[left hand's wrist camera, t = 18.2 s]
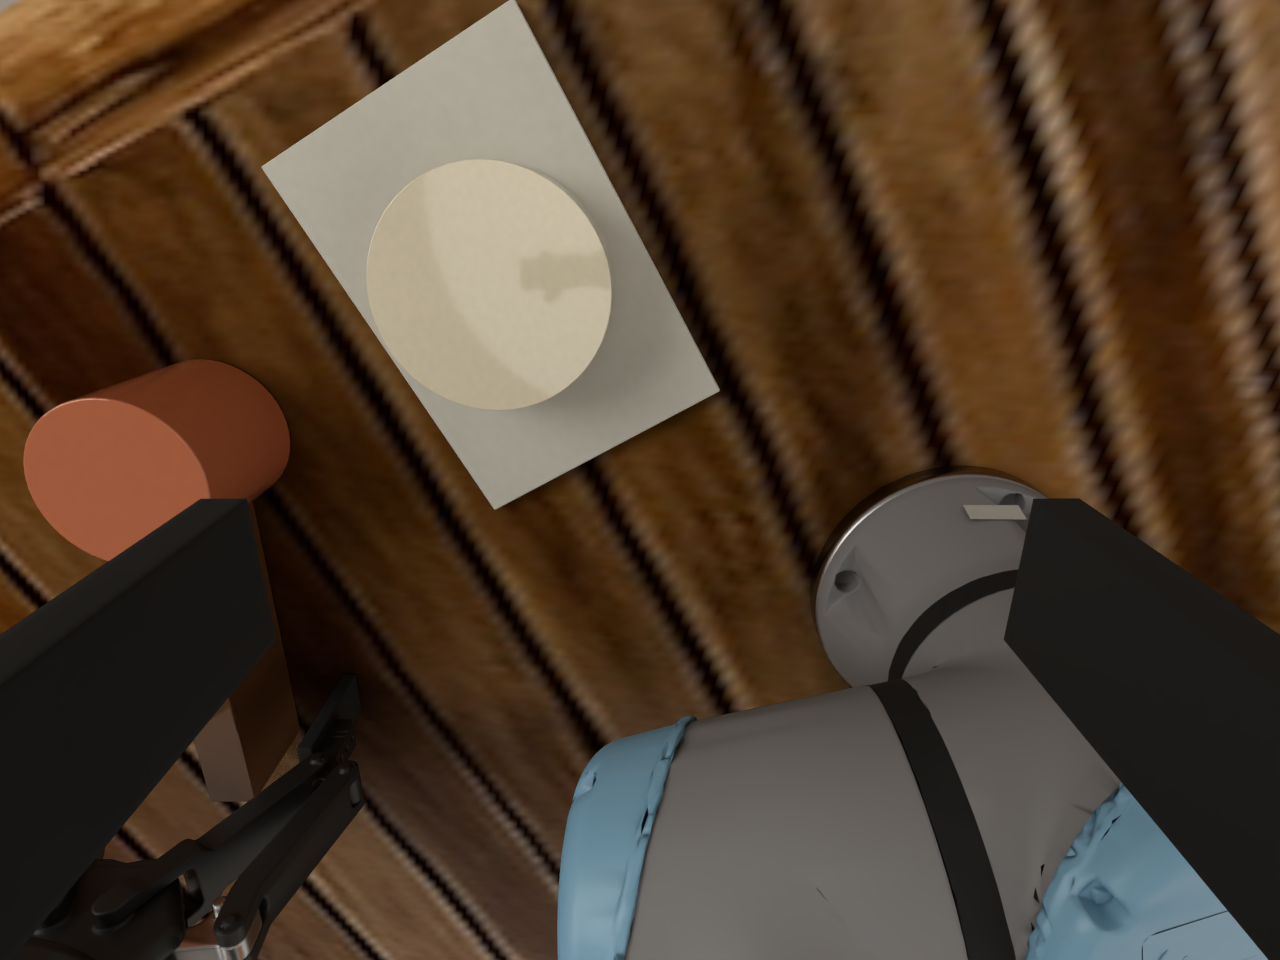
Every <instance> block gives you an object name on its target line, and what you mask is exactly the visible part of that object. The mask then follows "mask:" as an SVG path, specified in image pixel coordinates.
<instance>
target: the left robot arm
mask: <svg viewBox="0 0 1280 960" xmlns="http://www.w3.org/2000/svg"><path fill="white" fill-rule="evenodd" d="M811 611H812V616H813V621H814V624H815V627H816V630H817V633H818V636H819V638H820V640H821V643H822V645H823V648H824V650H825V652H826V654H827V656H828V658H829V659H830V661H831V663H832V664H833V666H834V667H835V668H836V670H837V671H838V672H839V673H840V675H841V676H842V677H843V678H844V679H845V680H846V681H847V682H848V683H849V684H850V685H851V686H852V687H853V688H848V689H844V690H839V691H834V692H829V693H825V694H820V695H815V696H810V697H806V698H801V699H796V700H791V701H787V702H782V703H777V704H772V705H768V706H763V707H758V708H753V709H749V710H744V711H739V712H734V713H730V714H725V715H720V716H716V717H711V718H706V719H701V720H697V718H695V717H694V716H686V717H683V718H681V719H680V720H679V721H678V722H677V723H676V724H674V725H670V726H666V727H662V728H658V729H655V730H651V731H647V732H643V733H640V734H636V735H632V736H628V737H625V738H621V739H618V740H615V741H613V742H611V743H609V744H607V745H606V746H604V747H603V748H602V749H600V750H599V751H598V752H597V753H596V754H595V755H594V756H593V758H592V759H591V760H590V762H589V763H588V765H587V766H586V768H585V769H584V771H583V773H582V775H581V777H580V779H579V782H578V784H577V787H576V790H575V793H574V797H573V801H572V805H571V808H570V811H569V815H568V819H567V825H566V830H565V836H564V843H563V849H562V857H561V867H560V879H559V893H558V923H557V936H558V960H1280V635H1279V634H1278V633H1276V632H1275V631H1273V630H1272V629H1270V628H1269V627H1267V626H1266V625H1264V624H1263V623H1262V622H1260V621H1259V620H1257V619H1256V618H1254V617H1253V616H1251V615H1250V614H1248V613H1247V612H1245V611H1244V610H1242V609H1241V608H1239V607H1238V606H1237V605H1235V604H1234V603H1232V602H1231V601H1229V600H1228V599H1226V598H1225V597H1223V596H1222V595H1220V594H1219V593H1217V592H1216V591H1214V590H1213V589H1212V588H1210V587H1209V586H1207V585H1206V584H1204V583H1203V582H1201V581H1200V580H1198V579H1197V578H1195V577H1194V576H1192V575H1191V574H1189V573H1188V572H1186V571H1185V570H1184V569H1182V568H1181V567H1179V566H1178V565H1176V564H1175V563H1173V562H1172V561H1170V560H1169V559H1167V558H1166V557H1164V556H1163V555H1161V554H1160V553H1159V552H1157V551H1156V550H1154V549H1153V548H1151V547H1150V546H1148V545H1147V544H1145V543H1144V542H1142V541H1141V540H1139V539H1138V538H1136V537H1135V536H1134V535H1132V534H1131V533H1129V532H1128V531H1126V530H1125V529H1123V528H1122V527H1120V526H1119V525H1117V524H1116V523H1114V522H1113V521H1111V520H1110V519H1109V518H1107V517H1106V516H1104V515H1103V514H1101V513H1100V512H1098V511H1097V510H1095V509H1094V508H1092V507H1091V506H1089V505H1088V504H1086V503H1085V502H1083V501H1082V500H1081V499H1048V498H1047V497H1046V496H1044V495H1043V494H1042V493H1040V492H1039V491H1038V490H1036V489H1035V488H1033V487H1032V486H1030V485H1029V484H1027V483H1025V482H1024V481H1022V480H1020V479H1018V478H1016V477H1013V476H1011V475H1009V474H1006V473H1003V472H1000V471H996V470H991V469H987V468H980V467H969V466H954V467H942V468H936V469H930V470H926V471H922V472H918V473H915V474H912V475H909V476H906V477H903V478H901V479H899V480H896V481H894V482H892V483H890V484H888V485H886V486H884V487H883V488H881V489H879V490H877V491H876V492H874V493H873V494H871V495H870V496H868V497H867V498H866V499H864V500H863V501H862V502H861V503H859V504H858V505H857V506H856V507H855V508H854V509H853V510H851V511H850V512H849V513H848V514H847V515H846V516H845V518H844V519H843V520H842V521H841V522H840V523H839V524H838V526H837V527H836V528H835V530H834V531H833V532H832V534H831V535H830V537H829V539H828V540H827V542H826V543H825V545H824V547H823V549H822V551H821V553H820V556H819V558H818V561H817V564H816V566H815V570H814V574H813V578H812V585H811ZM275 641H276V635H275V630H274V626H273V621H272V616H271V611H270V607H269V602H268V597H267V593H266V588H265V583H264V578H263V574H262V569H261V564H260V559H259V555H258V550H257V545H256V540H255V536H254V531H253V526H252V522H251V517H250V512H249V507H248V503H247V499H199V500H198V501H197V502H195V503H194V504H192V505H191V506H189V507H188V508H186V509H185V510H183V511H182V512H180V513H179V514H177V515H176V516H174V517H173V518H171V519H170V520H169V521H167V522H166V523H164V524H163V525H161V526H160V527H158V528H157V529H155V530H154V531H152V532H151V533H149V534H148V535H146V536H145V537H144V538H142V539H141V540H139V541H138V542H136V543H135V544H133V545H132V546H130V547H129V548H127V549H126V550H124V551H123V552H121V553H120V554H119V555H117V556H116V557H114V558H113V559H111V560H110V561H108V562H107V563H105V564H104V565H102V566H101V567H99V568H98V569H96V570H95V571H94V572H92V573H91V574H89V575H88V576H86V577H85V578H83V579H82V580H80V581H79V582H77V583H76V584H74V585H73V586H71V587H70V588H68V589H67V590H66V591H64V592H63V593H61V594H60V595H58V596H57V597H55V598H54V599H52V600H51V601H49V602H48V603H46V604H45V605H43V606H42V607H41V608H39V609H38V610H36V611H35V612H33V613H32V614H30V615H29V616H27V617H26V618H24V619H23V620H21V621H20V622H18V623H17V624H16V625H14V626H13V627H11V628H10V629H8V630H7V631H5V632H4V633H2V634H1V635H0V960H12V959H13V958H14V956H15V955H16V954H17V953H18V952H19V950H20V949H21V948H22V947H23V946H24V944H25V943H26V942H27V941H28V940H29V938H30V937H31V936H32V935H33V933H34V932H35V931H36V930H37V929H38V927H39V926H40V925H41V924H42V923H43V921H44V920H45V919H46V918H47V917H48V915H49V914H50V913H51V912H52V911H53V909H54V908H55V907H56V906H57V904H58V903H59V902H60V901H61V900H62V898H63V897H64V896H65V895H66V894H67V892H68V891H69V890H70V889H71V888H72V886H73V885H74V884H75V883H76V881H77V880H78V879H79V878H80V877H81V875H82V874H83V873H84V872H85V871H86V869H87V868H88V867H89V866H90V865H91V863H92V862H93V861H94V860H95V859H96V857H97V856H98V855H99V854H100V852H101V851H102V850H103V849H104V848H105V846H106V845H107V844H108V843H109V842H110V840H111V839H112V838H113V837H114V836H115V834H116V833H117V832H118V831H119V830H120V828H121V827H122V826H123V825H124V823H125V822H126V821H127V820H128V819H129V817H130V816H131V815H132V814H133V813H134V811H135V810H136V809H137V808H138V807H139V805H140V804H141V803H142V802H143V800H144V799H145V798H146V797H147V796H148V794H149V793H150V792H151V791H152V790H153V788H154V787H155V786H156V785H157V784H158V782H159V781H160V780H161V779H162V778H163V776H164V775H165V774H166V773H167V771H168V770H169V769H170V768H171V767H172V765H173V764H174V763H175V762H176V761H177V759H178V758H179V757H180V756H181V755H182V753H183V752H184V751H185V750H186V748H187V747H188V746H189V745H190V744H191V742H192V741H193V740H194V739H195V738H196V736H197V735H198V734H199V733H200V732H201V730H202V729H203V728H204V727H205V726H206V724H207V723H208V722H209V721H210V719H211V718H212V717H213V716H214V715H215V713H216V712H217V711H218V710H219V709H220V707H221V706H222V705H223V704H224V703H225V701H226V700H227V699H228V698H229V696H230V695H231V694H232V693H233V692H234V690H235V689H236V688H237V687H238V686H239V684H240V683H241V682H242V681H243V680H244V678H245V677H246V676H247V675H248V674H249V672H250V671H251V670H252V669H253V667H254V666H255V665H256V664H257V663H258V661H259V660H260V659H261V658H262V657H263V655H264V654H265V653H266V652H267V651H268V649H269V648H270V647H271V646H272V644H273V643H274V642H275Z"/></svg>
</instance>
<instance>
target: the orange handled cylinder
mask: <svg viewBox="0 0 1280 960" xmlns="http://www.w3.org/2000/svg"><path fill="white" fill-rule="evenodd" d="M289 453H290V435H289V429H288V425H287V422H286V419H285V417H284V414H283V412H282V410H281V409H280V407H279V405H278V403H277V402H276V401H275V399H274V398H273V396H272V395H271V394H270V393H269V392H268V391H267V389H266V388H265V387H264V386H262V385H261V384H260V383H259V382H258V381H257V380H255V379H254V378H253V377H251V376H250V375H249V374H247V373H245V372H243V371H242V370H240V369H238V368H235V367H233V366H231V365H228V364H225V363H222V362H218V361H213V360H204V359H195V360H186V361H181V362H178V363H175V364H172V365H169V366H167V367H164V368H161V369H158V370H155V371H152V372H150V373H147V374H144V375H141V376H138V377H135V378H132V379H130V380H127V381H124V382H121V383H118V384H115V385H113V386H110V387H107V388H104V389H101V390H98V391H96V392H93V393H90V394H87V395H84V396H81V397H79V398H76V399H73V400H70V401H67V402H65V403H62V404H59V405H58V406H56V407H54V408H52V409H50V410H49V411H48V412H47V413H45V414H44V415H43V416H42V417H41V418H40V419H39V420H38V421H37V423H36V424H35V425H34V427H33V429H32V430H31V432H30V434H29V436H28V439H27V441H26V445H25V450H24V463H23V464H24V473H25V478H26V482H27V486H28V488H29V491H30V493H31V496H32V498H33V500H34V502H35V504H36V505H37V507H38V509H39V510H40V512H41V513H42V515H43V516H44V517H45V519H46V520H47V521H48V522H49V523H50V524H51V526H52V527H53V528H54V529H55V530H56V531H58V532H59V533H60V534H61V535H62V536H63V537H64V538H66V539H67V540H68V541H69V542H71V543H72V544H74V545H75V546H77V547H78V548H80V549H81V550H83V551H85V552H87V553H89V554H91V555H93V556H95V557H98V558H101V559H103V560H106V561H110V560H111V559H113V558H114V557H116V556H117V555H119V554H120V553H121V552H123V551H124V550H126V549H127V548H129V547H130V546H132V545H133V544H135V543H136V542H138V541H139V540H141V539H142V538H144V537H145V536H146V535H148V534H149V533H151V532H152V531H154V530H155V529H157V528H158V527H160V526H161V525H163V524H164V523H166V522H167V521H169V520H170V519H171V518H173V517H174V516H176V515H177V514H179V513H180V512H182V511H183V510H185V509H186V508H188V507H189V506H191V505H192V504H194V503H195V502H197V501H198V500H199V499H247V503H248V507H249V512H250V517H251V522H252V526H253V531H254V536H255V540H256V545H257V550H258V555H259V559H260V564H261V569H262V574H263V578H264V583H265V588H266V593H267V597H268V602H269V607H270V611H271V616H272V621H273V626H274V630H275V635H276V641H275V642H274V643H273V644H272V646H271V647H270V648H269V649H268V651H267V652H266V653H265V654H264V655H263V657H262V658H261V659H260V660H259V661H258V663H257V664H256V665H255V666H254V667H253V669H252V670H251V671H250V672H249V674H248V675H247V676H246V677H245V678H244V680H243V681H242V682H241V683H240V684H239V686H238V687H237V688H236V689H235V690H234V692H233V693H232V694H231V695H230V696H229V698H228V699H227V700H226V701H225V703H224V704H223V705H222V706H221V707H220V709H219V710H218V711H217V712H216V713H215V715H214V716H213V717H212V718H211V719H210V721H209V722H208V723H207V724H206V726H205V727H204V728H203V729H202V730H201V732H200V733H199V734H198V735H197V736H196V738H195V739H194V742H195V745H196V749H197V753H198V756H199V760H200V764H201V767H202V771H203V774H204V778H205V782H206V785H207V789H208V793H209V796H210V800H211V801H225V802H248V801H250V800H251V799H252V798H254V797H255V796H256V795H258V794H259V793H260V792H261V790H262V789H263V787H264V786H265V784H266V783H267V781H268V779H269V778H270V776H271V775H272V773H273V772H274V770H275V769H276V767H277V765H278V764H279V762H280V761H281V759H282V758H283V756H284V755H285V753H286V751H287V750H288V748H289V747H290V745H291V744H292V742H293V740H294V739H295V737H296V736H297V734H298V733H299V731H300V726H299V721H298V716H297V711H296V706H295V701H294V697H293V692H292V687H291V682H290V677H289V672H288V668H287V663H286V658H285V653H284V648H283V643H282V639H281V634H280V629H279V624H278V619H277V615H276V610H275V605H274V600H273V595H272V590H271V586H270V581H269V576H268V571H267V566H266V561H265V557H264V552H263V547H262V542H261V537H260V533H259V528H258V523H257V518H256V513H255V508H254V504H253V501H254V500H255V499H256V498H257V497H259V496H260V495H261V494H263V493H264V492H265V491H266V490H268V489H269V488H270V487H271V486H272V485H273V484H274V483H276V482H277V480H278V479H279V478H280V476H281V475H282V473H283V471H284V470H285V468H286V465H287V462H288V459H289Z"/></svg>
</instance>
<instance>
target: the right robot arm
mask: <svg viewBox="0 0 1280 960" xmlns="http://www.w3.org/2000/svg"><path fill="white" fill-rule="evenodd" d="M360 712H361V704H360V698H359V693H358V687H357V681H356V675H355V674H343V675H342V677H341V679H340V680H339V682H338V683H337V685H336V687H335V688H334V690H333V691H332V693H331V695H330V696H329V698H328V699H327V701H326V703H325V704H324V706H323V708H322V709H321V711H320V712H319V714H318V716H317V717H316V719H315V720H314V722H313V724H312V725H311V727H310V728H309V730H308V732H307V733H306V735H305V736H304V738H303V740H302V741H301V743H300V744H299V746H298V748H297V752H298V757H299V761H300V763H299V764H298V765H296V766H295V767H294V768H292V769H291V770H290V771H288V772H287V773H286V774H284V775H283V776H282V777H280V778H279V779H278V780H276V781H275V782H274V783H272V784H271V785H270V786H268V787H267V788H266V789H264V790H263V791H262V792H260V793H259V794H258V795H256V796H255V797H254V798H252V799H251V800H250V801H248V802H247V803H246V804H244V805H243V806H242V807H240V808H239V809H238V810H236V811H235V812H234V813H232V814H231V815H230V816H228V817H227V818H226V819H224V820H223V821H222V822H220V823H219V824H218V825H216V826H215V827H214V828H212V829H211V830H210V831H208V832H207V833H206V834H204V835H203V836H202V837H200V838H199V839H197V840H192V839H185V840H183V841H182V842H180V843H179V844H177V845H176V846H175V847H173V848H172V849H170V850H169V851H168V852H166V853H165V854H164V855H162V856H161V857H160V858H158V859H147V860H141V861H136V862H131V863H124V862H120V861H116V860H113V859H103V856H104V851H105V848H104V849H103V850H102V851H101V852H100V854H99V855H98V856H97V857H96V859H95V860H94V861H93V862H92V863H91V865H90V866H89V867H88V868H87V869H86V871H85V872H84V873H83V874H82V875H81V877H80V878H79V879H78V880H77V881H76V883H75V884H74V885H73V886H72V888H71V889H70V890H69V891H68V892H67V894H66V895H65V896H64V897H63V898H62V900H61V901H60V902H59V903H58V904H57V906H56V907H55V908H54V909H53V911H52V912H51V913H50V914H49V915H48V917H47V918H46V919H45V920H44V921H43V923H42V924H41V925H40V926H39V927H38V929H37V930H36V931H35V932H34V933H33V935H32V936H31V937H30V938H29V940H28V941H27V942H26V943H25V944H24V946H23V947H22V948H21V949H20V950H19V952H18V953H17V954H16V955H15V956H14V958H13V959H12V960H257V957H258V955H259V952H260V950H261V947H262V945H263V942H264V940H265V937H266V935H267V932H268V930H269V927H270V925H271V923H272V922H273V921H274V919H275V918H276V917H277V916H278V914H279V913H280V912H281V910H282V909H283V908H284V907H285V905H286V904H287V903H288V902H289V900H290V899H291V898H292V896H293V895H294V894H295V893H296V891H297V890H298V889H299V887H300V886H301V885H302V884H303V882H304V881H305V880H306V878H307V877H308V876H309V875H310V873H311V872H312V871H313V869H314V868H315V867H316V866H317V864H318V863H319V862H320V861H321V859H322V858H323V857H324V855H325V854H326V853H327V852H328V850H329V849H330V848H331V846H332V845H333V844H334V843H335V841H336V840H337V839H338V837H339V836H340V835H341V834H342V832H343V831H344V830H345V828H346V827H347V826H348V825H349V823H350V822H351V821H352V819H353V818H354V817H355V816H356V814H357V813H358V812H359V811H360V809H361V808H362V807H363V805H364V796H363V790H362V785H361V779H360V774H359V768H358V764H357V763H356V762H355V761H348V759H349V756H350V755H351V753H352V751H353V749H354V747H355V745H356V738H355V733H354V727H353V725H354V723H355V721H356V719H357V717H358V715H359V714H360ZM182 874H183V875H184V878H185V881H186V884H187V887H188V892H187V894H186V896H185V897H184V895H183V892H182V889H181V885H180V882H179V879H178V877H179V876H181V875H182ZM238 877H239V878H238ZM236 878H238V879H237V881H236V882H235V883H234V885H233V886H232V888H231V890H230V892H229V893H228V895H227V897H226V896H221V895H222V892H223V890H224V889H225V888H226V887H227V886H228V885H229V884H230V883H232V882H233V881H234V880H235V879H236ZM211 909H213V910H212V911H211V913H210V914H209V915H208V916H207V918H206V919H204V920H203V921H202V922H201V923H199V924H197V925H195V926H192V925H193V924H194V923H196V922H197V921H198V920H199V919H200V918H202V917H203V916H204V915H205V914H206V913H207V912H209V911H210V910H211ZM191 926H192V927H191Z"/></svg>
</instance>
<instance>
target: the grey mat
mask: <svg viewBox="0 0 1280 960" xmlns="http://www.w3.org/2000/svg"><path fill="white" fill-rule="evenodd" d="M465 159H493V160H501V161H505V162H510V163H514V164H518V165H521V166H525V167H528V168H531V169H533V170H536V171H538V172H541V173H543V174H545V175H547V176H549V177H551V178H553V179H554V180H556V181H558V182H559V183H560V184H562V185H563V186H564V187H566V188H567V189H569V190H570V191H571V192H572V193H573V194H574V195H575V196H576V197H577V198H578V199H579V200H580V201H581V202H582V203H583V204H584V205H585V207H586V208H587V209H588V210H589V211H590V213H591V214H592V216H593V217H594V219H595V220H596V222H597V224H598V225H599V227H600V229H601V231H602V233H603V235H604V238H605V240H606V242H607V245H608V249H609V252H610V255H611V259H612V265H613V270H614V285H615V287H614V301H613V306H612V311H611V316H610V320H609V324H608V328H607V330H606V333H605V336H604V339H603V342H602V344H601V346H600V348H599V350H598V352H597V354H596V356H595V357H594V359H593V360H592V362H591V363H590V365H589V366H588V368H587V369H586V370H585V371H584V372H583V373H582V374H581V375H580V377H579V378H578V379H577V380H576V381H574V382H573V383H572V384H571V385H570V386H568V387H567V388H566V389H565V390H563V391H562V392H560V393H558V394H557V395H555V396H554V397H552V398H550V399H547V400H545V401H543V402H541V403H538V404H535V405H532V406H529V407H525V408H520V409H514V410H500V411H494V410H482V409H477V408H472V407H467V406H464V405H461V404H458V403H455V402H452V401H450V400H447V399H445V398H443V397H441V396H439V395H437V394H435V393H434V392H432V391H431V390H429V389H428V388H426V387H424V386H423V385H422V384H421V383H419V382H418V381H417V380H416V379H414V378H413V377H412V376H411V375H410V374H409V373H408V372H407V371H406V370H405V369H404V368H403V367H402V366H401V365H400V364H399V362H398V361H397V360H396V359H395V357H394V356H393V355H392V353H391V352H390V351H389V349H388V347H387V346H386V344H385V342H384V341H383V339H382V337H381V335H380V333H379V330H378V328H377V326H376V324H375V321H374V318H373V315H372V311H371V308H370V304H369V298H368V293H367V280H366V269H367V257H368V252H369V248H370V243H371V239H372V237H373V234H374V231H375V228H376V226H377V224H378V222H379V220H380V218H381V216H382V214H383V212H384V211H385V209H386V208H387V207H388V205H389V204H390V202H391V201H392V200H393V198H394V197H395V196H396V195H397V194H398V193H399V192H400V191H401V190H402V189H403V188H404V187H405V186H406V185H408V184H409V183H410V182H412V181H413V180H414V179H416V178H417V177H418V176H420V175H422V174H424V173H426V172H427V171H429V170H431V169H433V168H436V167H438V166H441V165H444V164H447V163H450V162H455V161H460V160H465ZM262 169H263V170H264V172H265V173H266V175H267V176H268V178H269V179H270V181H271V182H272V184H273V185H274V187H275V188H276V190H277V191H278V192H279V194H280V195H281V197H282V198H283V200H284V201H285V203H286V204H287V206H288V207H289V209H290V210H291V212H292V213H293V214H294V216H295V217H296V219H297V220H298V222H299V223H300V225H301V226H302V228H303V229H304V231H305V232H306V234H307V235H308V237H309V238H310V239H311V241H312V242H313V244H314V245H315V247H316V248H317V250H318V251H319V253H320V254H321V256H322V257H323V259H324V260H325V261H326V263H327V264H328V266H329V267H330V269H331V270H332V272H333V273H334V275H335V276H336V278H337V279H338V281H339V282H340V284H341V285H342V286H343V288H344V289H345V291H346V292H347V294H348V295H349V297H350V298H351V300H352V301H353V303H354V304H355V306H356V307H357V308H358V310H359V311H360V313H361V314H362V316H363V317H364V319H365V320H366V322H367V323H368V325H369V326H370V328H371V329H372V331H373V332H374V333H375V335H376V336H377V338H378V339H379V341H380V342H381V344H382V345H383V347H384V348H385V350H386V351H387V353H388V354H389V355H390V357H391V358H392V360H393V361H394V363H395V364H396V366H397V367H398V369H399V370H400V372H401V373H402V375H403V376H404V378H405V379H406V380H407V382H408V383H409V385H410V386H411V388H412V389H413V391H414V392H415V394H416V395H417V397H418V398H419V400H420V401H421V402H422V404H423V405H424V407H425V408H426V410H427V411H428V413H429V414H430V416H431V417H432V419H433V420H434V422H435V423H436V424H437V426H438V427H439V429H440V430H441V432H442V433H443V435H444V436H445V438H446V439H447V441H448V442H449V444H450V445H451V447H452V448H453V449H454V451H455V452H456V454H457V455H458V457H459V458H460V460H461V461H462V463H463V464H464V466H465V467H466V469H467V470H468V471H469V473H470V474H471V476H472V477H473V479H474V480H475V482H476V483H477V485H478V486H479V488H480V489H481V491H482V492H483V494H484V495H485V496H486V498H487V499H488V501H489V502H490V504H491V505H492V507H493V508H494V509H498V508H500V507H501V506H503V505H505V504H507V503H509V502H511V501H513V500H515V499H517V498H518V497H520V496H522V495H524V494H526V493H528V492H530V491H532V490H534V489H535V488H537V487H539V486H541V485H543V484H545V483H547V482H549V481H551V480H553V479H554V478H556V477H558V476H560V475H562V474H564V473H566V472H568V471H570V470H571V469H573V468H575V467H577V466H579V465H581V464H583V463H585V462H587V461H588V460H590V459H592V458H594V457H596V456H598V455H600V454H602V453H604V452H606V451H607V450H609V449H611V448H613V447H615V446H617V445H619V444H621V443H623V442H624V441H626V440H628V439H630V438H632V437H634V436H636V435H638V434H640V433H641V432H643V431H645V430H647V429H649V428H651V427H653V426H655V425H657V424H658V423H660V422H662V421H664V420H666V419H668V418H670V417H672V416H674V415H676V414H677V413H679V412H681V411H683V410H685V409H687V408H689V407H691V406H693V405H694V404H696V403H698V402H700V401H702V400H704V399H706V398H708V397H710V396H711V395H713V394H715V393H717V392H719V391H720V389H719V387H718V385H717V383H716V381H715V379H714V377H713V375H712V373H711V372H710V370H709V368H708V366H707V364H706V362H705V360H704V358H703V356H702V354H701V353H700V351H699V349H698V347H697V345H696V343H695V341H694V339H693V337H692V335H691V333H690V332H689V330H688V328H687V326H686V324H685V322H684V320H683V318H682V316H681V314H680V312H679V311H678V309H677V307H676V305H675V303H674V301H673V299H672V297H671V295H670V293H669V292H668V290H667V288H666V286H665V284H664V282H663V280H662V278H661V276H660V274H659V272H658V271H657V269H656V267H655V265H654V263H653V261H652V259H651V257H650V255H649V253H648V252H647V250H646V248H645V246H644V244H643V242H642V240H641V238H640V236H639V234H638V232H637V231H636V229H635V227H634V225H633V223H632V221H631V219H630V217H629V215H628V213H627V211H626V210H625V208H624V206H623V204H622V202H621V200H620V198H619V196H618V194H617V192H616V191H615V189H614V187H613V185H612V183H611V181H610V179H609V177H608V175H607V173H606V171H605V170H604V168H603V166H602V164H601V162H600V160H599V158H598V156H597V154H596V152H595V151H594V149H593V147H592V145H591V143H590V141H589V139H588V137H587V135H586V133H585V131H584V130H583V128H582V126H581V124H580V122H579V120H578V118H577V116H576V114H575V112H574V110H573V109H572V107H571V105H570V103H569V101H568V99H567V97H566V95H565V93H564V91H563V90H562V88H561V86H560V84H559V82H558V80H557V78H556V76H555V74H554V72H553V70H552V69H551V67H550V65H549V63H548V61H547V59H546V57H545V55H544V53H543V51H542V49H541V48H540V46H539V44H538V42H537V40H536V38H535V36H534V34H533V32H532V30H531V29H530V27H529V25H528V23H527V21H526V19H525V17H524V15H523V13H522V11H521V9H520V8H519V6H518V4H517V2H516V0H509V1H507V2H506V3H504V4H503V5H501V6H500V7H499V8H497V9H496V10H494V11H493V12H491V13H490V14H488V15H487V16H485V17H484V18H482V19H481V20H479V21H478V22H476V23H475V24H473V25H472V26H470V27H469V28H467V29H466V30H464V31H463V32H461V33H460V34H458V35H457V36H455V37H454V38H452V39H451V40H449V41H448V42H446V43H445V44H443V45H442V46H440V47H439V48H437V49H436V50H434V51H433V52H431V53H430V54H429V55H427V56H426V57H424V58H423V59H421V60H420V61H418V62H417V63H415V64H414V65H412V66H411V67H409V68H408V69H406V70H405V71H403V72H402V73H400V74H399V75H397V76H396V77H394V78H393V79H391V80H390V81H388V82H387V83H385V84H384V85H382V86H381V87H379V88H378V89H376V90H375V91H373V92H372V93H370V94H369V95H367V96H366V97H364V98H363V99H361V100H360V101H359V102H357V103H356V104H354V105H353V106H351V107H350V108H348V109H347V110H345V111H344V112H342V113H341V114H339V115H338V116H336V117H335V118H333V119H332V120H330V121H329V122H327V123H326V124H324V125H323V126H321V127H320V128H318V129H317V130H315V131H314V132H312V133H311V134H309V135H308V136H306V137H305V138H303V139H302V140H300V141H299V142H297V143H296V144H294V145H293V146H291V147H290V148H289V149H287V150H286V151H284V152H283V153H281V154H280V155H278V156H277V157H275V158H274V159H272V160H271V161H269V162H268V163H266V164H265V165H263V166H262Z"/></svg>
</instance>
